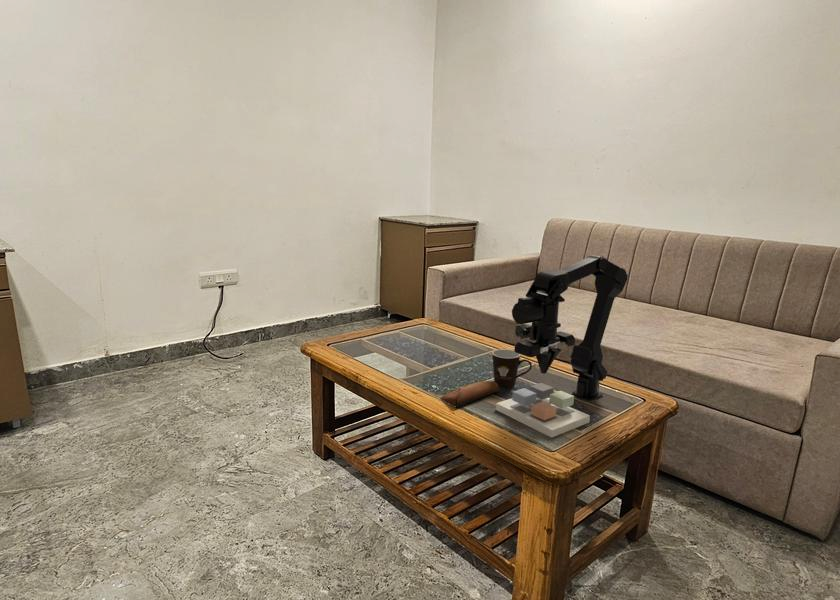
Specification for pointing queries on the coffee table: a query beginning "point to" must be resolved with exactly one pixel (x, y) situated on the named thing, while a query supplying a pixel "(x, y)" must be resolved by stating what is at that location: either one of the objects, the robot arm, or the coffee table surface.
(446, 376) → the coffee table surface
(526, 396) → the slate key
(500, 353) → the coffee mug
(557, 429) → the keypad board
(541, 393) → the charcoal key
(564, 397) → the sage key
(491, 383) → the sunglasses case
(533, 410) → the terracotta key
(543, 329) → the robot arm
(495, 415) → the coffee table surface
